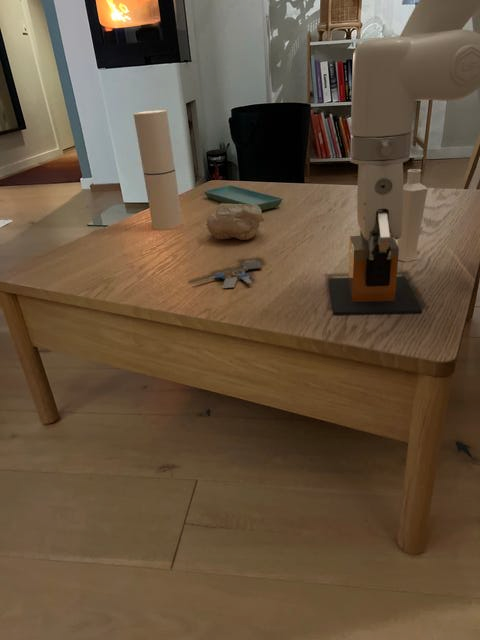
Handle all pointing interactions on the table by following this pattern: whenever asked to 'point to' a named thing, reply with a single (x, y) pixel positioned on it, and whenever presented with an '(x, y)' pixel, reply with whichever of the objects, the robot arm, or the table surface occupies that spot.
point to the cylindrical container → (158, 168)
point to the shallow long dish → (243, 197)
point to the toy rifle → (232, 281)
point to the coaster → (401, 305)
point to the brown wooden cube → (358, 272)
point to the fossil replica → (235, 221)
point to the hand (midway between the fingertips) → (372, 272)
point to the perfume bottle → (411, 216)
